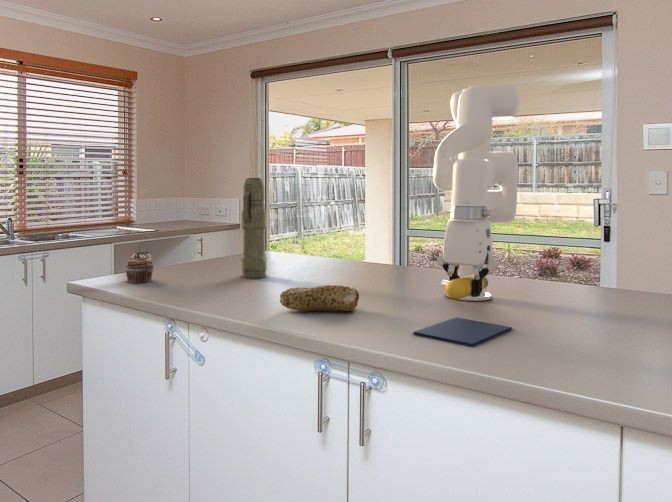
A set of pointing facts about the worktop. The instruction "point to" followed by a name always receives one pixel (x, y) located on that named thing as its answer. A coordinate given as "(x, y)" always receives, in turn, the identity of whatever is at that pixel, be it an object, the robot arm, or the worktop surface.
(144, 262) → the cupcake
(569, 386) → the worktop surface
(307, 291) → the sponge
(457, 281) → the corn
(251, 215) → the thermos
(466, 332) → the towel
